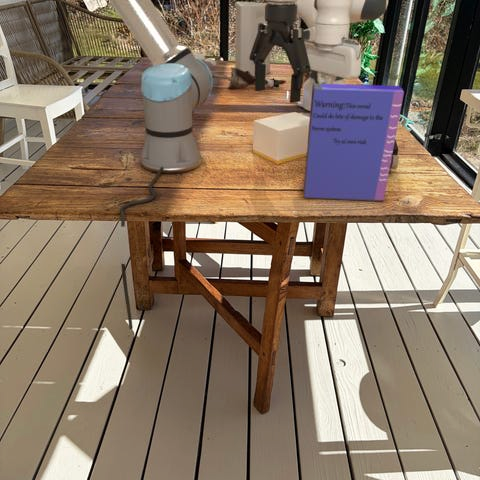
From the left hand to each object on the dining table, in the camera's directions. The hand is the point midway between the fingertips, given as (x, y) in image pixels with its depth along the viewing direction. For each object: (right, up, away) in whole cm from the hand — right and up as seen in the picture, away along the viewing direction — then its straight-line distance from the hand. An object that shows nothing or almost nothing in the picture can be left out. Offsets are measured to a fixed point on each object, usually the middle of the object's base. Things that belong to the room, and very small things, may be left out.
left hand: (276, 96), depth 121 cm
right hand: (+14, +4, +9) cm, 17 cm away
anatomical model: (+22, +34, +87) cm, 96 cm away
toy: (-35, +45, +105) cm, 119 cm away
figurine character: (+27, -18, +1) cm, 32 cm away
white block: (-3, +40, +96) cm, 104 cm away
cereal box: (+14, -27, -13) cm, 33 cm away
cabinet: (+3, -12, +10) cm, 16 cm away
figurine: (-6, +25, +71) cm, 75 cm away
